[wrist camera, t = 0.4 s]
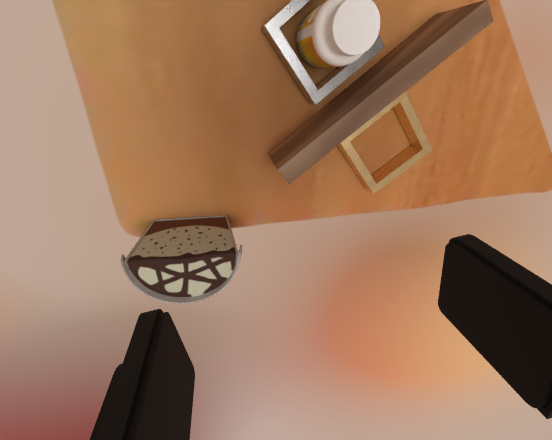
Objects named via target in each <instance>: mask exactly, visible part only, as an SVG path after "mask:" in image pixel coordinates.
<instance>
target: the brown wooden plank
mask: <svg viewBox="0 0 552 440" xmlns="http://www.w3.org/2000/svg"><path fill="white" fill-rule="evenodd" d="M492 22H493V18H492V14H491V11H490V7H489V3H488V0H484V1H481V2H477V3H474V4H470V5H467V6H463V7H460V8H456V9H453V10H449V11H446V12H442V13H439V14H436V15H434V16H433V17H432V18H431V19H430V20H428V21H427V22H426V23H425V24H424V25H422V26H421V27H420V28H419V29H418V30H416V31H415V32H414V33H413V34H412V35H410V36H409V37H408V38H407V39H405V40H404V41H403V42H402V43H401V44H399V45H398V46H397V47H396V48H395V49H393V50H392V51H391V52H390V53H389V54H387V55H386V56H385V57H384V58H383V59H381V60H380V61H379V62H378V63H377V64H375V65H374V66H373V67H372V68H370V69H369V70H368V71H367V72H366V73H364V74H363V75H362V76H361V77H360V78H358V79H357V80H356V81H355V82H354V83H352V84H351V85H350V86H349V87H348V88H346V89H345V90H344V91H343V92H342V93H340V94H339V95H338V96H337V97H336V98H334V99H333V100H332V101H331V102H329V103H328V104H327V105H326V106H325V107H323V108H322V109H321V110H320V111H319V112H317V113H316V114H315V115H314V116H313V117H311V118H310V119H309V120H308V121H307V122H305V123H304V124H303V125H302V126H301V127H299V128H298V129H297V130H296V131H294V132H293V133H292V134H291V135H290V136H288V137H287V138H286V139H285V140H284V141H282V142H281V143H280V144H279V145H278V146H276V147H275V148H274V149H273V150H272V151H270V152H269V153H268V155H269V156H270V158H271V160H272V161H273V163H274V165H275V166H276V168H277V170H278V171H279V172H280V173H281V175H282V176H283V177H284V178H285V180H286V181H287V182H288V183H289V184H290V183H291V182H292V181H293V180H295V179H296V178H297V177H298V176H300V175H301V174H302V173H303V172H305V171H306V170H307V169H309V168H310V167H311V166H312V165H314V164H315V163H316V162H317V161H319V160H320V159H321V158H322V157H324V156H325V155H326V154H327V153H329V152H330V151H331V150H332V149H334V148H335V147H336V146H337V145H339V144H340V143H341V142H342V141H344V140H345V139H346V138H347V137H349V136H350V135H351V134H352V133H354V132H355V131H356V130H357V129H359V128H360V127H361V126H362V125H364V124H365V123H366V122H368V121H369V120H370V119H371V118H373V117H374V116H375V115H376V114H378V113H379V112H380V111H381V110H383V109H384V108H385V107H386V106H388V105H389V104H390V103H391V102H393V101H394V100H395V99H396V98H398V97H399V96H400V95H401V94H403V93H404V92H405V91H406V90H408V89H409V88H410V87H411V86H413V85H414V84H415V83H416V82H418V81H419V80H420V79H422V78H423V77H424V76H425V75H427V74H428V73H429V72H430V71H432V70H433V69H434V68H435V67H437V66H438V65H439V64H440V63H442V62H443V61H444V60H445V59H447V58H448V57H449V56H450V55H452V54H453V53H454V52H455V51H457V50H458V49H459V48H460V47H462V46H463V45H464V44H465V43H467V42H468V41H469V40H470V39H472V38H473V37H474V36H476V35H477V34H478V33H479V32H481V31H482V30H483V29H484V28H486V27H487V26H488V25H489V24H491V23H492Z"/></svg>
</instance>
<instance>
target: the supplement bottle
mask: <svg viewBox="0 0 552 440" xmlns="http://www.w3.org/2000/svg"><path fill="white" fill-rule="evenodd" d="M379 30H380V15H379V11H378V9H377V7H376V5H375V3H374V2H373V1H372V0H327V1H326V2H324V3H323V4H321V5H320V6H319V7H317V8H316V9H314V10H313V11H312V12H310V13H309V14H308V15H307V16H306V17H305V18H304V19H303V20H302V22H301V24H300V26H299V28H298V31H297V37H296V43H297V49H298V52H299V54H300V56H301V58H302V59H303V61H304V62H305V63H307V64H308V65H310V66H312V67H315V68H328V67H339V66H345V65H349V64H351V63H353V62H355V61H356V60H358V59H359V58H360V57H361V56H362V55H363V54H364V52H366V51H367V50H368V49H370V48H371V46H372V45H373V44H374V42H375V41H376V39H377V36H378V34H379Z"/></svg>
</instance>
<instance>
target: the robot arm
mask: <svg viewBox="0 0 552 440" xmlns="http://www.w3.org/2000/svg"><path fill="white" fill-rule="evenodd" d="M438 306H439V309H440V310H441V312H442V313H443V314H444V315H445V316H446V318H447V319H448V320H449V321H450V322H451V323H452V324H453V325H454V326H455V327H456V328H457V329H458V330H459V331H460V333H461V334H462V335H463V336H464V337H465V338H466V339H467V340H468V341H469V342H470V343H471V344H472V345H473V346H474V347H475V348H476V350H477V351H478V352H479V353H480V354H481V355H482V356H483V357H484V358H485V359H486V360H487V361H488V362H489V363H490V364H491V365H492V367H493V368H494V369H495V370H496V371H497V372H498V373H499V374H500V375H501V376H502V377H503V378H504V379H505V380H506V381H507V382H508V384H509V385H510V386H511V387H512V388H513V389H514V390H515V391H516V392H517V393H518V394H519V395H520V396H521V398H523V400H524V401H525V402H526V403H527V404H529V405H530V406H532V407H533V408H537V409H538V410H539V411H540V412H541V413H542V414H543V415H544V416H545V417H546V419H549V418H552V285H551V284H550V283H548V282H546V281H545V280H543V279H542V278H540V277H539V276H537V275H535V274H534V273H532V272H531V271H529V270H527V269H526V268H524V267H523V266H521V265H520V264H518V263H516V262H515V261H513V260H512V259H510V258H508V257H507V256H505V255H504V254H502V253H500V252H499V251H497V250H496V249H494V248H492V247H491V246H489V245H488V244H486V243H484V242H483V241H481V240H480V239H478V238H477V237H475V236H473V235H470V234H468V235H463V236H459V237H455V238H452V239H450V241H449V244H447V245H446V247H445V254H444V262H443V269H442V277H441V284H440V291H439V299H438ZM194 381H195V372H194V367H193V364H192V362H191V360H190V358H189V356H188V353H187V351H186V349H185V347H184V345H183V342H182V341H181V338H180V336H179V334H178V332H177V329H176V327H175V325H174V323H173V321H172V319H171V316H170V314H169V313H168V312H165V313H163V311H162V310H161V309H157V310H153V311H149V312H144V313H141V314H140V316H139V318H138V321H137V323H136V326H135V329H134V332H133V335H132V338H131V341H130V344H129V347H128V350H127V353H126V355H125V359H124V362H123V364H120V365H119V366H118V367H117V368H116V370H115V372H114V374H113V377H112V380H111V382H110V385H109V388H108V391H107V393H106V396H105V399H104V402H103V405H102V407H101V410H100V413H99V415H98V418H97V421H96V424H95V426H94V429H93V432H92V435H91V438H90V440H189V439H190V428H191V415H192V405H193V393H194Z"/></svg>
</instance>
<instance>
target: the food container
mask: <svg viewBox="0 0 552 440" xmlns="http://www.w3.org/2000/svg"><path fill="white" fill-rule="evenodd" d="M241 254H242V245H241V246H240V250H239V251H237V247H236V244H235V240H234V237H233V234H232V230H231V227H230V223H229V220H228V217H227V215H220V216H204V217H188V218H172V219H156V220H153V221H152V222H151V223H150V225H149V226H148V228H147V229H146V231H145V232H144V233H143V235H142V236H141V238H140V239H139V241H138V242H137V243H136V245H135V246H134V248H133V249H132V250H131V252H130V253H129V255H128V256H127V257H126V259H125V257H124V255H122V257H121V264H122V268H123V271H124V273H125V274H126V276H127V278H128V279H129V281H130V282H131V283H132V284H133V285H134V286H135V287H136V288H138V290H140V291H141V292H143V293H144V294H146V295H148V296H150V297H152V298H154V299H157V300H160V301H163V302H169V303H178V304H182V303H193V302H198V301H201V300H204V299H207V298H209V297H211V296H213V295H215V294H217V293H218V292H220V291H221V290H222V289H223V288H225V286H226V285H227V284H228V283H229V282H230V281H231V279H232V278H233V276H234V275H235V273H236V271H237V269H238V266H239V262H240V258H241Z"/></svg>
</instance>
